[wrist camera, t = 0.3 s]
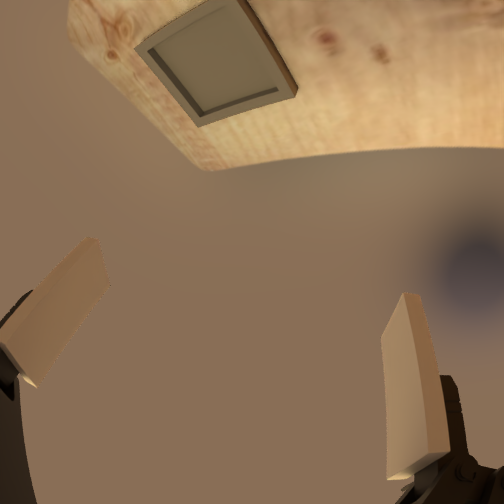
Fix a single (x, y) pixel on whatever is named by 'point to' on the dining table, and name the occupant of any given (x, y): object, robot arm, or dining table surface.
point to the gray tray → (218, 61)
